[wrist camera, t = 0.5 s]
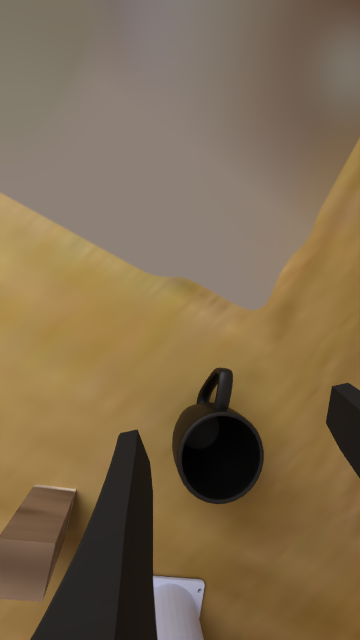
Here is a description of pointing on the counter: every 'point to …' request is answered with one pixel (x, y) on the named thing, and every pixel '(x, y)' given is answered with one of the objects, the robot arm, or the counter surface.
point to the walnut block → (34, 542)
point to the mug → (217, 445)
